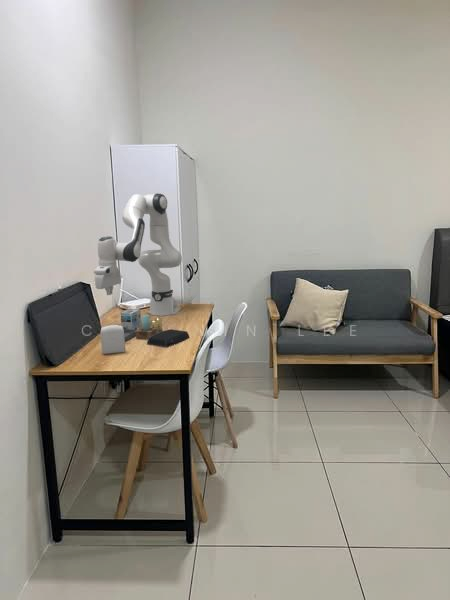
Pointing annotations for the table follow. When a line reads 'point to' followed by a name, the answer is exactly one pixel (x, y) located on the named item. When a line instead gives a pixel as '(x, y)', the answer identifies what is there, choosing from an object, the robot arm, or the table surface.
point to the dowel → (146, 322)
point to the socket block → (145, 333)
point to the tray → (129, 334)
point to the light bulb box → (131, 319)
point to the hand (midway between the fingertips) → (109, 294)
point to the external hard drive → (167, 338)
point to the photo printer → (112, 339)
